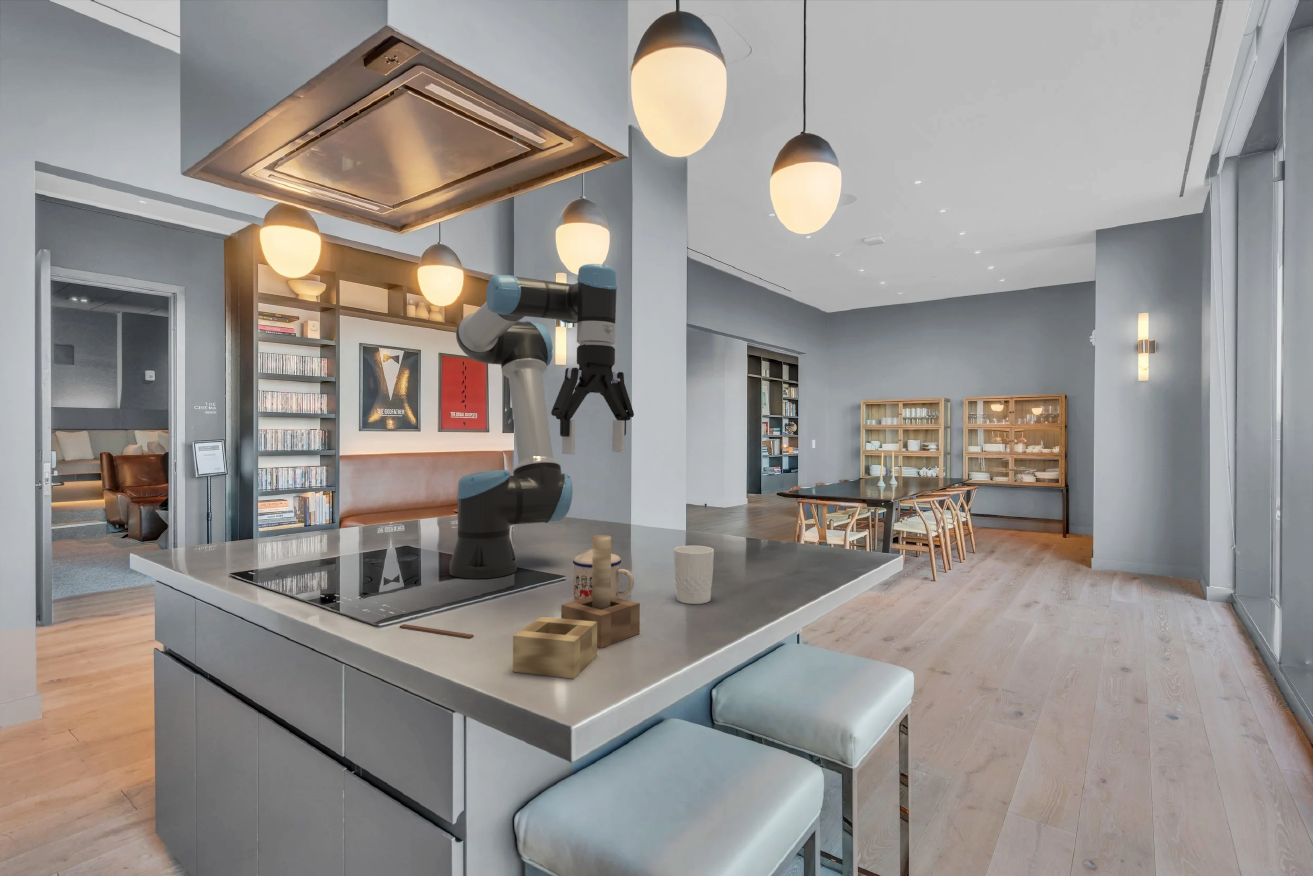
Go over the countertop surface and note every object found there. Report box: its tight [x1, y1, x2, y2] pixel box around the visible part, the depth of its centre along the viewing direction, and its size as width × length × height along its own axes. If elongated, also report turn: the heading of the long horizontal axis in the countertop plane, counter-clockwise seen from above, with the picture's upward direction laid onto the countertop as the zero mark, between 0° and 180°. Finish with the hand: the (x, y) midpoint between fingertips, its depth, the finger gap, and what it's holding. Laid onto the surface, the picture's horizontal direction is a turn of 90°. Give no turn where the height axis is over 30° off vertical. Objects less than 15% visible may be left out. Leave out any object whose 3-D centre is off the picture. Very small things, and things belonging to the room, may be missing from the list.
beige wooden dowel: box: [592, 534, 612, 610], centre depth 102 cm, size 3×3×16 cm
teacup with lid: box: [572, 544, 635, 601], centre depth 118 cm, size 12×9×12 cm
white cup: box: [673, 545, 715, 605], centre depth 123 cm, size 8×8×10 cm
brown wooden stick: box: [399, 623, 475, 639], centre depth 103 cm, size 14×1×1 cm, turn 69°
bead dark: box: [560, 596, 641, 649], centre depth 102 cm, size 9×9×5 cm
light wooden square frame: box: [512, 616, 598, 680], centre depth 89 cm, size 9×9×5 cm
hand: (594, 453), depth 124 cm, fingers open, 13 cm apart
